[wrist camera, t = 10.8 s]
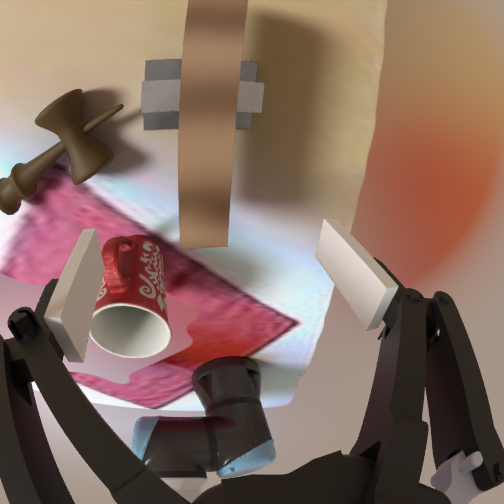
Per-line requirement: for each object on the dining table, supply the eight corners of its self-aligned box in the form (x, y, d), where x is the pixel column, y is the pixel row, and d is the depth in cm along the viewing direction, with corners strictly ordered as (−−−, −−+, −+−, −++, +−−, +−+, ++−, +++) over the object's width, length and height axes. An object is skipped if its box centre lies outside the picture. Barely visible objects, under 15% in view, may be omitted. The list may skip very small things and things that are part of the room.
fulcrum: (249, 128, 30) (263, 138, 25) (144, 129, 27) (136, 139, 22) (256, 62, 26) (272, 59, 21) (146, 61, 23) (137, 56, 18)
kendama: (-2, 162, 23) (111, 67, 22) (32, 215, 29) (147, 136, 28) (-26, 180, 18) (95, 67, 17) (14, 239, 24) (139, 150, 23)
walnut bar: (218, 215, 29) (227, 246, 24) (179, 216, 28) (180, 249, 23) (237, -17, 15) (253, -40, 11) (192, -19, 15) (195, -44, 10)
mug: (174, 280, 40) (177, 356, 29) (115, 285, 38) (103, 360, 27) (163, 200, 33) (156, 267, 22) (94, 208, 31) (60, 276, 20)
